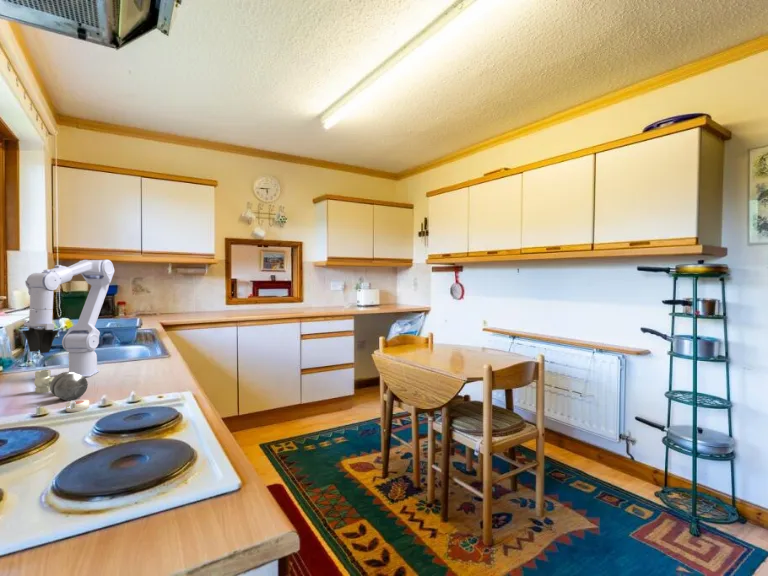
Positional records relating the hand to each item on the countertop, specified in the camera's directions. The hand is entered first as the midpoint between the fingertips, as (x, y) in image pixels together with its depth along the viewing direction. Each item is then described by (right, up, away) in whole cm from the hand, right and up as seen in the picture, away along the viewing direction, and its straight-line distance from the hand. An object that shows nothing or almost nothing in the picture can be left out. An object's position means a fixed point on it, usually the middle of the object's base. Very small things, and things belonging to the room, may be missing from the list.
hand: (39, 352), depth 129 cm
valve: (+8, -12, -4) cm, 15 cm away
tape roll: (+28, -12, -20) cm, 36 cm away
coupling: (+18, -12, -11) cm, 24 cm away
